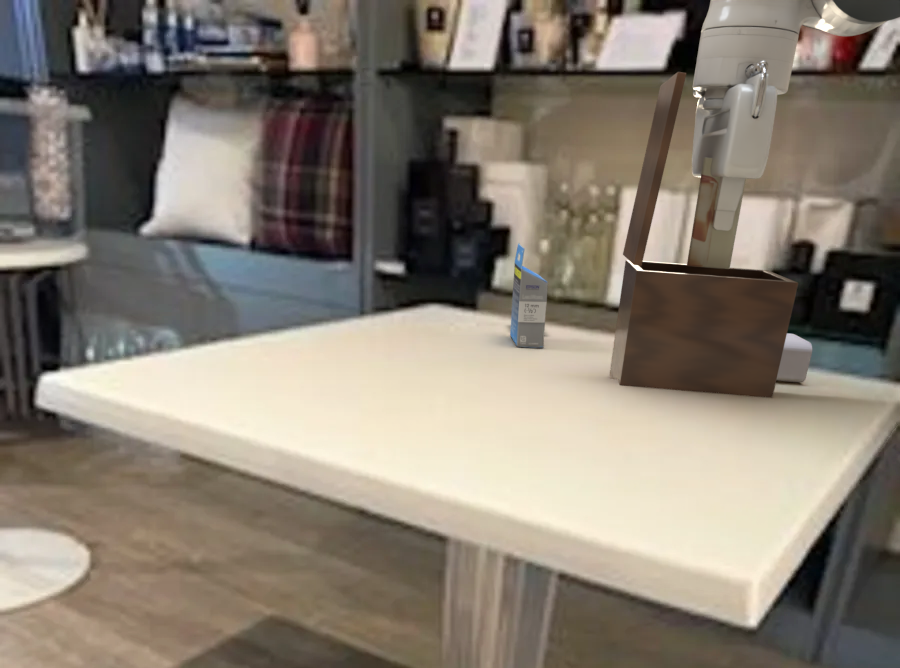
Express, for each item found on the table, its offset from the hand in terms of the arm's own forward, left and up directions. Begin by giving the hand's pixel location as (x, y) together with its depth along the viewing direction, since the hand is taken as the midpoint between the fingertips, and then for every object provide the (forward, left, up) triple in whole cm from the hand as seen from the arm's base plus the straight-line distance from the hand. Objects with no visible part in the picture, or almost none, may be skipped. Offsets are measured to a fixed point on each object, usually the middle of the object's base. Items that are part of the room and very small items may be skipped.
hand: (714, 228), depth 89 cm
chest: (0, 0, -17) cm, 17 cm away
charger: (-8, -15, -17) cm, 24 cm away
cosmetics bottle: (0, 0, -4) cm, 4 cm away
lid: (+7, 0, +5) cm, 8 cm away
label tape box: (+18, -25, -17) cm, 35 cm away
